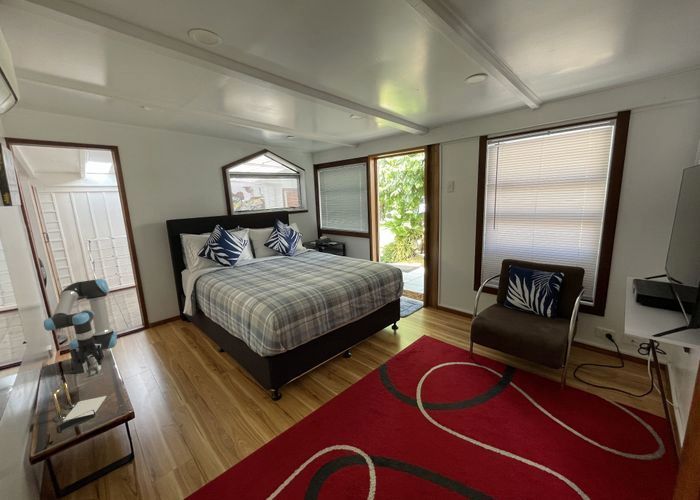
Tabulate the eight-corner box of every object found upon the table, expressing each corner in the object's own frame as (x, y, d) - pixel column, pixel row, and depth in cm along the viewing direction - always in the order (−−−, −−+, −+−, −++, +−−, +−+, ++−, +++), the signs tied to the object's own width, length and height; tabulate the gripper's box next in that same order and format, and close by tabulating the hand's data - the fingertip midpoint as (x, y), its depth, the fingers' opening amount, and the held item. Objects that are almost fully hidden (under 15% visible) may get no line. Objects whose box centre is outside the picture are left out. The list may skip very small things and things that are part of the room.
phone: (96, 415, 162) (59, 432, 150) (96, 417, 162) (59, 434, 151) (93, 409, 167) (57, 425, 155) (93, 410, 167) (58, 426, 155)
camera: (101, 351, 186) (97, 362, 173) (105, 367, 188) (101, 378, 176) (84, 355, 181) (78, 367, 169) (88, 371, 183) (83, 384, 171)
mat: (78, 402, 173) (78, 401, 173) (106, 396, 178) (106, 395, 178) (63, 421, 158) (62, 420, 158) (93, 414, 163) (93, 413, 163)
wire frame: (68, 404, 172) (62, 381, 169) (78, 402, 174) (72, 379, 170) (52, 422, 158) (45, 397, 155) (63, 420, 160) (57, 395, 156)
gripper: (62, 343, 168) (70, 377, 172) (100, 337, 174) (108, 370, 178) (69, 337, 174) (77, 370, 179) (106, 332, 181) (113, 364, 185)
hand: (92, 370), depth 179 cm, fingers closed on camera, 6 cm apart
